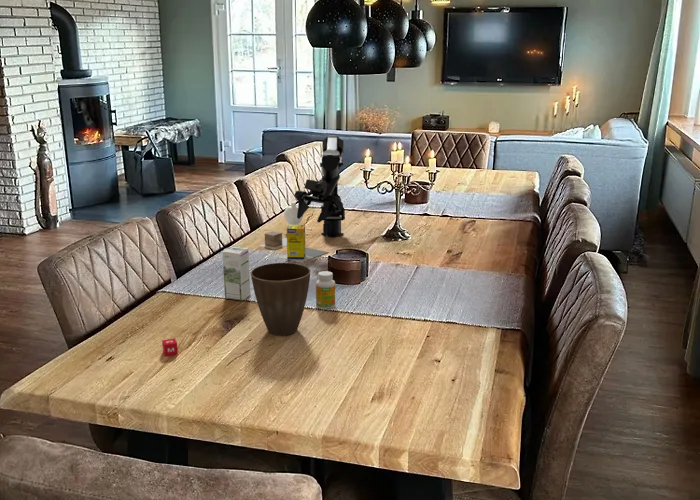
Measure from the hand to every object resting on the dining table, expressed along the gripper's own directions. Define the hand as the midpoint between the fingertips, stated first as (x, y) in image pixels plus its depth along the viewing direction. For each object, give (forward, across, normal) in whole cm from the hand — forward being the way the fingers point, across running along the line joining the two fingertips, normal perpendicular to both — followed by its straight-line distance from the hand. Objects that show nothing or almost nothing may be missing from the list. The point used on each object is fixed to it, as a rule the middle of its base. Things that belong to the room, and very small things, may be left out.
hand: (307, 220), depth 244 cm
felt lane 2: (+10, 0, +8) cm, 12 cm away
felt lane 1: (+6, -17, +11) cm, 21 cm away
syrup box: (+42, +13, -24) cm, 50 cm away
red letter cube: (+69, +28, -51) cm, 90 cm away
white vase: (-6, -25, +23) cm, 35 cm away
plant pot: (+50, +40, -32) cm, 72 cm away
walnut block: (+8, -17, +9) cm, 21 cm away
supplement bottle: (+35, +38, -18) cm, 55 cm away
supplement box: (+13, 0, +4) cm, 14 cm away
